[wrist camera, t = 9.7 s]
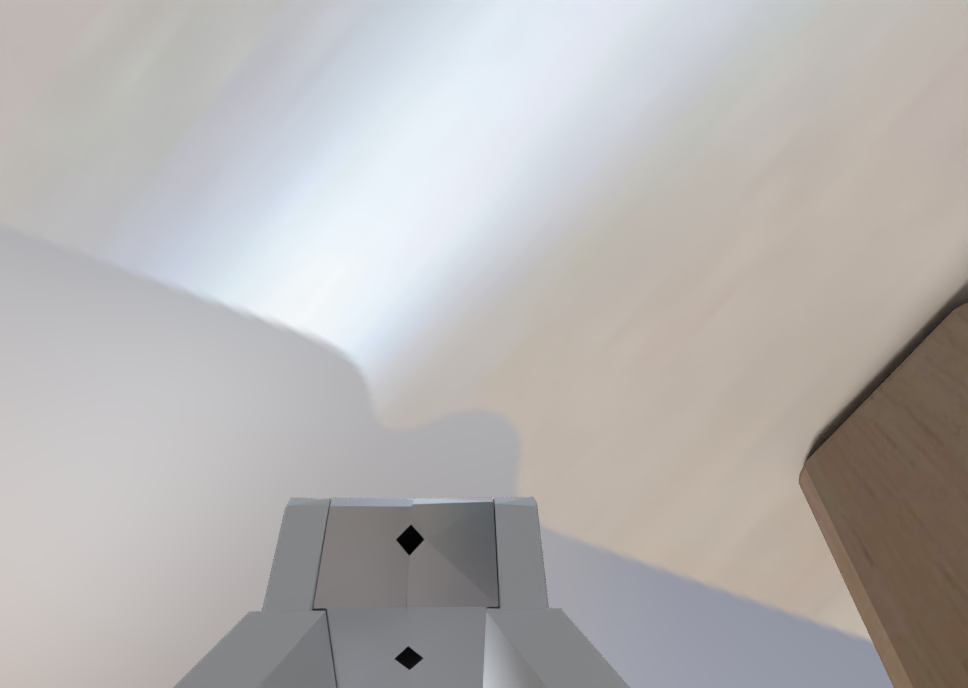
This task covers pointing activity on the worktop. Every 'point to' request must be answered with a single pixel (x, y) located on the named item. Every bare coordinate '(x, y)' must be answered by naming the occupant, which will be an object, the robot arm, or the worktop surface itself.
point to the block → (905, 510)
